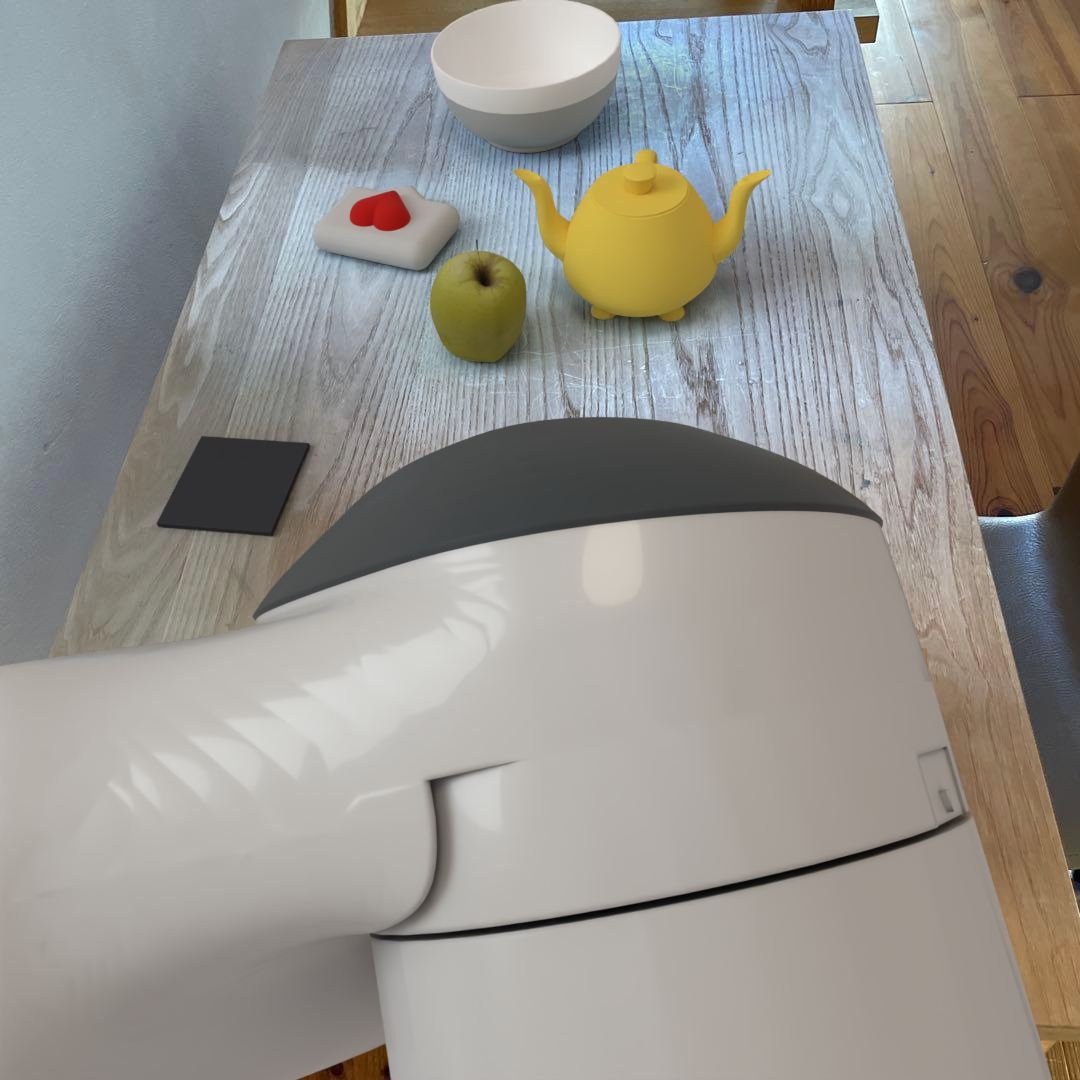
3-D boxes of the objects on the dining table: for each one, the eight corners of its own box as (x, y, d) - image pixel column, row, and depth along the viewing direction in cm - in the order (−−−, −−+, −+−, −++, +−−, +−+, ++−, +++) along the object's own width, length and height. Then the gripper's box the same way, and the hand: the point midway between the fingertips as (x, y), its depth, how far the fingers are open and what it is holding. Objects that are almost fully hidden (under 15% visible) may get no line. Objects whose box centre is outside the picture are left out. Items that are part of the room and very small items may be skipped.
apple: (410, 326, 83) (425, 218, 76) (498, 323, 87) (520, 218, 80) (437, 385, 79) (455, 275, 72) (530, 379, 82) (556, 273, 75)
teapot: (759, 235, 89) (772, 112, 80) (757, 344, 80) (771, 219, 71) (540, 232, 92) (528, 113, 83) (514, 336, 83) (498, 216, 74)
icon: (468, 176, 91) (416, 238, 86) (474, 217, 95) (425, 279, 89) (355, 156, 95) (299, 214, 90) (365, 196, 98) (311, 254, 93)
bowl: (625, 169, 98) (624, 82, 91) (436, 180, 99) (420, 96, 92) (621, 75, 109) (619, -9, 103) (451, 86, 111) (439, 5, 104)
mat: (272, 536, 72) (270, 532, 71) (158, 526, 73) (156, 523, 73) (310, 446, 77) (309, 442, 77) (203, 439, 79) (201, 435, 78)
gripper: (908, 1032, 21) (1048, 897, 32) (397, 498, 32) (630, 532, 43) (743, 1209, 23) (928, 1025, 34) (315, 649, 34) (557, 645, 45)
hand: (758, 747), depth 39 cm, fingers open, 8 cm apart
